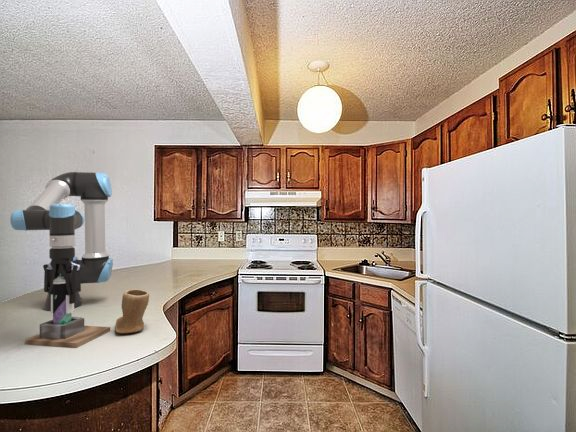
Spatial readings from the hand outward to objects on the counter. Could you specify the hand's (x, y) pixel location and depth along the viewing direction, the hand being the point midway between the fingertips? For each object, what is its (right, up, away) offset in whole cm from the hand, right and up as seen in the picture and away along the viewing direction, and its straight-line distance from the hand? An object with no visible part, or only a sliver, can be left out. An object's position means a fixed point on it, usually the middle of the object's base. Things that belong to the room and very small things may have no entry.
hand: (62, 312), depth 118 cm
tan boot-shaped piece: (+20, -9, +10) cm, 25 cm away
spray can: (0, -6, 0) cm, 6 cm away
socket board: (+2, -9, +1) cm, 9 cm away
